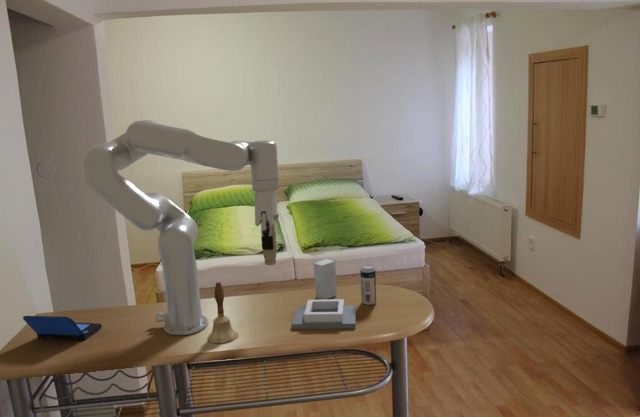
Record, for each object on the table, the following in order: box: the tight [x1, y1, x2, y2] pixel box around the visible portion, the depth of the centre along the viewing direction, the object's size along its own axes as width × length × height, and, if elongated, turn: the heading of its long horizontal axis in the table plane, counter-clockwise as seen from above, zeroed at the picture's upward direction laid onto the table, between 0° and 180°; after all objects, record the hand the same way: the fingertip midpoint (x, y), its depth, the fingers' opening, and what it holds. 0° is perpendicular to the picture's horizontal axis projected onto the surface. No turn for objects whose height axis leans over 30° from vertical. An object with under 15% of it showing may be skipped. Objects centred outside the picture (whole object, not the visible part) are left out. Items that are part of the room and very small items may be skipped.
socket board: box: [291, 298, 357, 330], centre depth 151 cm, size 18×13×4 cm
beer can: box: [359, 264, 377, 306], centre depth 161 cm, size 5×5×12 cm
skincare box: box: [313, 258, 338, 300], centre depth 168 cm, size 6×4×12 cm
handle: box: [262, 211, 280, 266], centre depth 148 cm, size 5×6×15 cm
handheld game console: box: [22, 315, 103, 342], centre depth 148 cm, size 16×13×9 cm
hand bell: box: [207, 281, 239, 344], centre depth 142 cm, size 8×8×16 cm
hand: (269, 246), depth 148 cm, fingers closed on handle, 3 cm apart
